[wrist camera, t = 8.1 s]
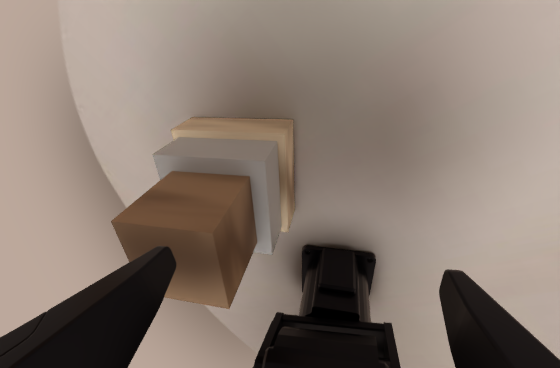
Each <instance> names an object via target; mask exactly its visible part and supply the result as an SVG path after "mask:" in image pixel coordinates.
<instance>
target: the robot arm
mask: <svg viewBox="0 0 560 368" xmlns="http://www.w3.org/2000/svg"><path fill="white" fill-rule="evenodd" d="M308 251H310V252H308ZM369 258H371V259H369ZM375 263H376V257H375V255H374V254H372V253H365V252H357V251H349V250H341V249H332V248H324V247H316V246H304V247H303V251H302V292H303V295H302V301H301V306H300V312H299V316H298V315H287V314H284V313H279V312H277V313H276V315H275V317H274V320H273V321H272V323H271V325H270V327H269V329H268V332H267V334H266V336H265V339H264V341H263V343H262V346H261V348H260V350H259V352H258V355H257V357H256V359H255V364H254V366H253V368H401V367H400V362H399V357H398V353H397V348H396V343H395V338H394V333H393V328H392V323H385V322H384V324H381V323H371V319H370V306H369V295H370V289H371V284H372V279H373V274H374V269H375ZM176 265H177V264H176V260H175V258H174V255H173V253H172V250H171V248H170V247H168V246H157V247H155V248H153V249H152V250H150V251H148V252H146V253H145V254H143V255H141V256H140V257H138V258H136V259H135V260H133V261H131V262H129V263H128V264H126V265H124V266H123V267H121V268H119V269H117V270H116V271H114V272H112V273H111V274H109V275H107V276H106V277H104V278H102V279H100V280H99V281H97V282H95V283H94V284H92V285H90V286H88V287H87V288H85V289H84V290H82V291H80V292H78V293H77V294H75V295H73V296H71V297H70V298H68V299H66V300H65V301H63V302H61V303H60V304H58V305H56V306H54V307H53V308H51V309H49V310H48V311H47V312H44V313H42V314H41V315H39V316H37V317H36V318H34V319H32V320H31V321H29V322H27V323H25V324H24V325H22V326H20V327H18V328H17V329H15V330H13V331H11V332H9V333H8V334H6V335H4V336H2V337H0V368H128V366H129V364H130V362H131V360H132V358H133V356H134V354H135V353H136V351H137V349H138V347H139V345H140V343H141V341H142V340H143V338H144V336H145V334H146V332H147V330H148V328H149V327H150V325H151V323H152V321H153V319H154V317H155V315H156V313H157V311H158V309H159V307H160V305H161V303H162V301H163V298H164V296H165V294H166V291H167V289H168V286H169V284H170V282H171V279H172V277H173V275H174V272H175V270H176ZM439 295H440V301H441V306H442V311H443V316H444V321H445V326H446V331H447V336H448V341H449V345H450V350H451V353H452V357H453V360H454V364H455V367H456V368H560V360H559V359H558V358H557V357H556V356H555V355H554V354H553V353H552V352H551V351H550V350H549V349H547V348H546V347H545V346H544V345H543V344H542V343H541V342H540V341H539V340H538V339H536V338H535V337H534V336H533V335H532V334H531V333H530V332H529V331H528V330H527V329H526V328H524V327H523V326H522V325H521V324H520V323H519V322H518V321H517V320H516V319H515V318H514V317H512V316H511V315H510V314H509V313H508V312H507V311H506V310H505V309H504V308H503V307H501V306H500V305H499V304H498V303H497V302H496V301H495V300H494V299H493V298H492V297H491V296H489V295H488V294H487V293H486V292H485V291H484V290H483V289H482V288H481V287H480V286H479V285H477V284H476V283H475V282H474V281H473V280H472V279H471V278H470V277H469V276H468V275H466V274H465V273H464V272H463V271H460V270H449V269H448V270H445V272H444V274H443V278H442V281H441V285H440V289H439Z"/></svg>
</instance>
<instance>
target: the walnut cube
mask: <svg viewBox="0 0 560 368" xmlns="http://www.w3.org/2000/svg"><path fill="white" fill-rule="evenodd" d="M111 223H112V225H113V227H114V229H115V231H116V234H117V236H118V238H119V240H120V242H121V244H122V247H123V249H124V251H125V253H126V255H127V258H128V259H129V262H131V261H133V260H135V259H136V258H138V257H140V256H141V255H143V254H145V253H146V252H148V251H150V250H152V249H153V248H155V247H157V246H168V247H170V248H171V250H172V253H173V255H174V258H175V260H176V264H177V265H176V270H175V272H174V275H173V277H172V279H171V282H170V284H169V286H168V289H167V291H166V294H165V296H164V297H166V298H171V299H177V300H182V301H187V302H193V303H199V304H204V305H210V306H215V307H221V308H226V309H229V308H230V306H231V304H232V301H233V299H234V296H235V294H236V292H237V289H238V287H239V285H240V282H241V280H242V277H243V275H244V273H245V270H246V268H247V266H248V263H249V261H250V258H251V256H252V254H253V251H254V249H255V247H256V244H257V235H256V226H255V217H254V209H253V200H252V191H251V183H250V176H239V175H225V174H210V173H195V172H181V171H171V172H170V173H169V174H168V175H166V176H165V177H164V178H163V179H162V180H160V181H159V182H158V183H157V184H155V185H154V186H153V187H152V188H151V189H149V190H148V191H147V192H146V193H145V194H143V195H142V196H141V197H140V198H139V199H137V200H136V201H135V202H134V203H132V204H131V205H130V206H129V207H128V208H126V209H125V210H124V211H123V212H122V213H120V214H119V215H118V216H117V217H116V218H114V219H113V220H112V221H111Z"/></svg>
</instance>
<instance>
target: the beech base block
mask: <svg viewBox="0 0 560 368" xmlns="http://www.w3.org/2000/svg"><path fill="white" fill-rule="evenodd" d="M171 132H172V136H173V140H175V139H177V138H178V137H190V138H215V139H239V140H264V141H277V146H278V166H279V186H280V206H281V226H282V227H281V230H280V232H288V231H289V228H290V224H291V221H292V217H293V214H294V211H295V202H294V146H293V120H289V119H246V118H204V117H192V118H190V119H188V120H187V121H185V122H183V123H182V124H180V125H178V126H177V127H175V128H173V129H171Z"/></svg>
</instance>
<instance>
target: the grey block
mask: <svg viewBox="0 0 560 368" xmlns="http://www.w3.org/2000/svg"><path fill="white" fill-rule="evenodd" d="M153 158H154V161H155V165H156V168H157V171H158V174H159V178H160V180H162V179H163V178H164V177H165V176H166V175H168V174H169V173H170V172H171V171H181V172H195V173H210V174H225V175H239V176H250V183H251V191H252V200H253V209H254V217H255V226H256V235H257V244H256V247H255V249H254V251H253V252H255V253H262V254H270V255H272V254H273V251H274V248H275V245H276V242H277V239H278V236H279V233H280V230H281V227H282V226H281V206H280V186H279V166H278V146H277V141H264V140H239V139H215V138H190V137H178V138H177V139H175V140H174V141H172V142H171V143H169V144H168V145H166V146H165V147H163V148H162V149H160V150H159V151H157V152H156V153H154V154H153Z"/></svg>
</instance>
